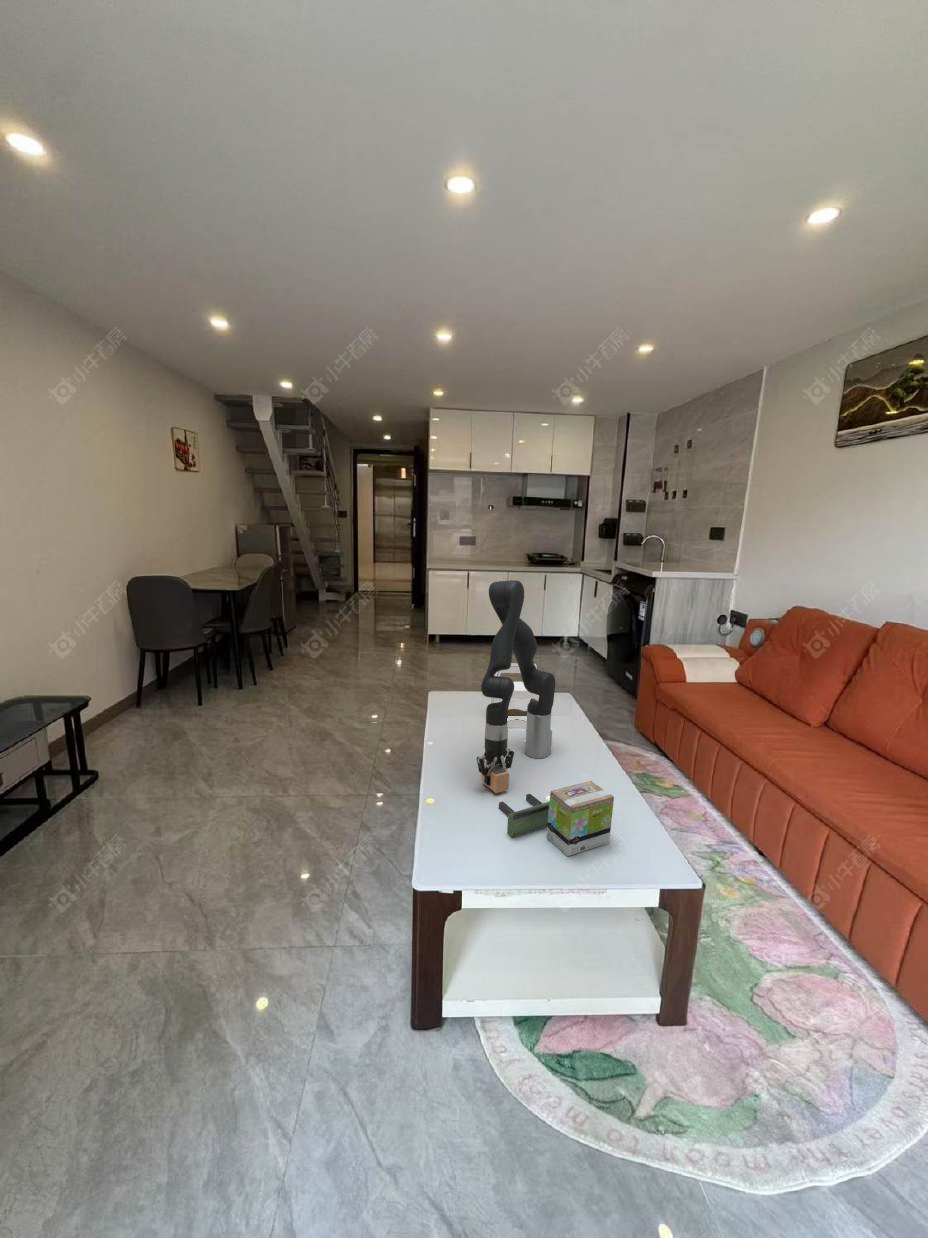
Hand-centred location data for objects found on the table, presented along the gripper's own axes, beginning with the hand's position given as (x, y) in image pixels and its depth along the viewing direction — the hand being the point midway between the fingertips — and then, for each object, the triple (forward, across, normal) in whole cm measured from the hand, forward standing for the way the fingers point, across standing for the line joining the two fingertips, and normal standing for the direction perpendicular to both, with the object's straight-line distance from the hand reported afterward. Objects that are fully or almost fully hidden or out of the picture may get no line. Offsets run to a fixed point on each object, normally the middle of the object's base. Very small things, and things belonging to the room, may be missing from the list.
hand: (494, 782), depth 167 cm
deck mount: (+2, 0, +18) cm, 19 cm away
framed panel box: (+1, 0, 0) cm, 1 cm away
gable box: (+3, -41, -45) cm, 61 cm away
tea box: (+3, -5, +35) cm, 35 cm away
